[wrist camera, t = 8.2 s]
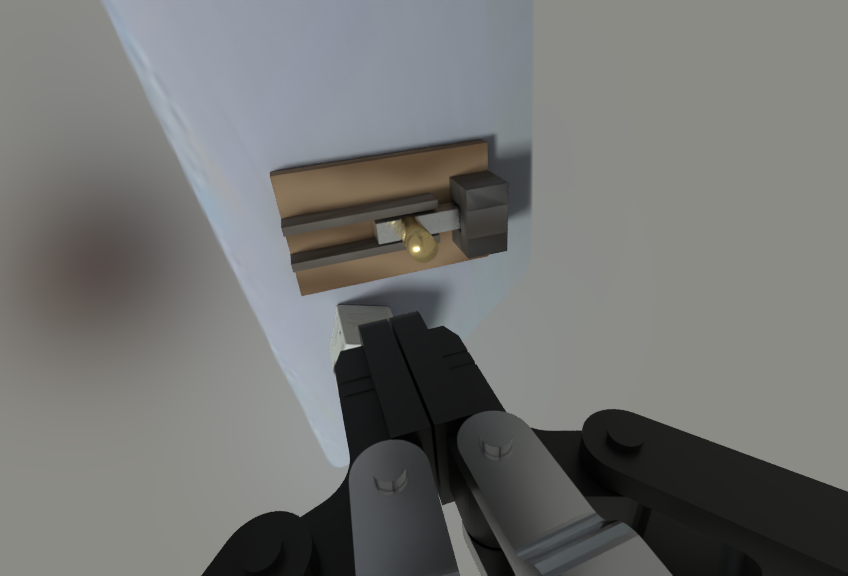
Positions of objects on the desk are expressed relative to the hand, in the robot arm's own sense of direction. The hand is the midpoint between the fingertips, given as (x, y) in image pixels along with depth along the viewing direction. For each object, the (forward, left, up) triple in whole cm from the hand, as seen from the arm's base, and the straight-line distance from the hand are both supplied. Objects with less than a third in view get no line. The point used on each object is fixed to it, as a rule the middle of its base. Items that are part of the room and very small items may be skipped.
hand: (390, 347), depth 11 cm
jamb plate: (+9, +6, -32) cm, 34 cm away
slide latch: (+9, +9, -30) cm, 33 cm away
